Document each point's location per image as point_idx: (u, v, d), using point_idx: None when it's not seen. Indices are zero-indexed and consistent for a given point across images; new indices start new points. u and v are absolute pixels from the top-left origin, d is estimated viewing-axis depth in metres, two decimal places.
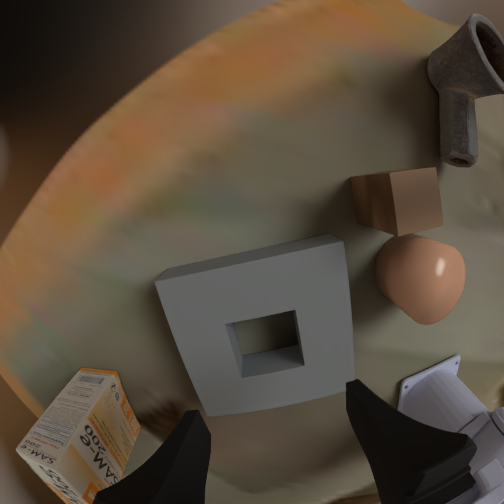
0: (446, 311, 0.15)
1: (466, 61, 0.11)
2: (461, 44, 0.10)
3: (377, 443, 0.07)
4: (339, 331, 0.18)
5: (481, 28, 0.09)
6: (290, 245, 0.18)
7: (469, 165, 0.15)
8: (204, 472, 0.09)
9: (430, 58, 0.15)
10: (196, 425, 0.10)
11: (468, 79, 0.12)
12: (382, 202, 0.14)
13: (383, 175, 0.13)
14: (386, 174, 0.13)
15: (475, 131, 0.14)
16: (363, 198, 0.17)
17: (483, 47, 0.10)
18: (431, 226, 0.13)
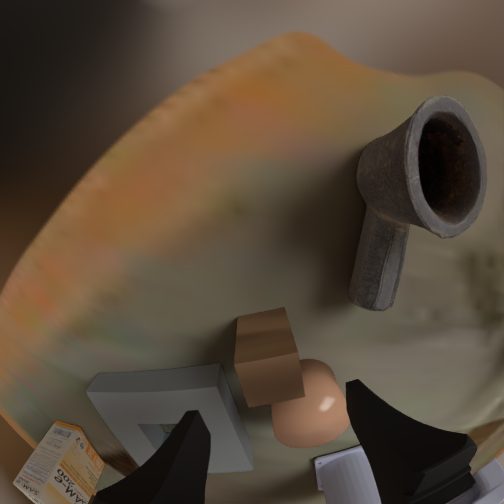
0: (327, 439, 0.17)
1: (393, 191, 0.12)
2: (391, 162, 0.11)
3: (377, 443, 0.07)
4: (227, 439, 0.19)
5: (439, 119, 0.10)
6: (181, 375, 0.19)
7: None
8: (204, 472, 0.09)
9: (361, 158, 0.16)
10: (196, 425, 0.10)
11: (396, 211, 0.13)
12: None
13: None
14: (234, 361, 0.14)
15: (395, 275, 0.15)
16: None
17: (441, 142, 0.11)
18: (289, 399, 0.14)
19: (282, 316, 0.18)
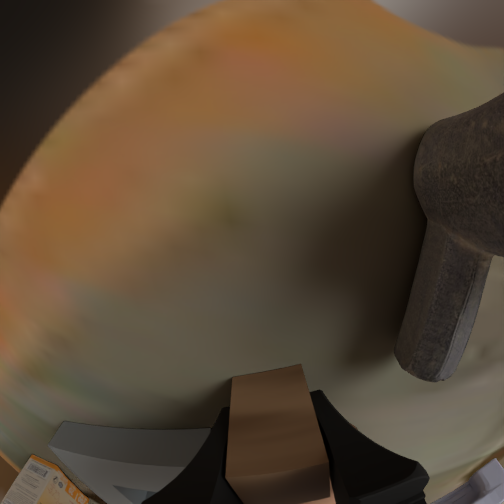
0: None
1: None
2: None
3: (330, 458, 0.07)
4: None
5: None
6: (158, 441, 0.12)
7: None
8: None
9: (423, 147, 0.09)
10: None
11: (494, 239, 0.06)
12: None
13: (227, 463, 0.07)
14: (226, 470, 0.07)
15: (469, 331, 0.08)
16: None
17: None
18: (307, 501, 0.07)
19: (299, 383, 0.11)
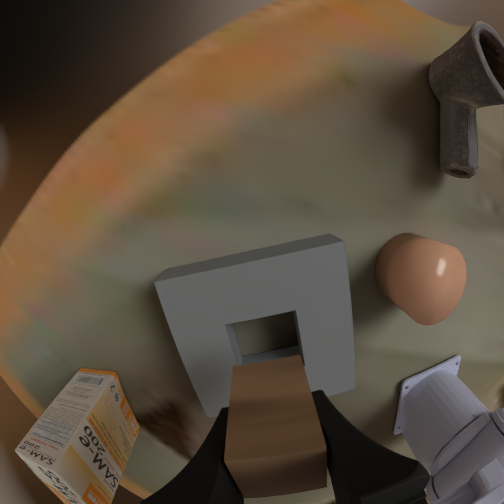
0: (447, 311, 0.15)
1: (468, 71, 0.11)
2: (464, 53, 0.10)
3: (331, 458, 0.07)
4: (340, 332, 0.17)
5: (484, 36, 0.09)
6: (290, 245, 0.18)
7: (469, 176, 0.15)
8: None
9: (432, 66, 0.15)
10: None
11: (470, 89, 0.12)
12: None
13: (225, 447, 0.08)
14: (225, 454, 0.07)
15: (476, 142, 0.14)
16: None
17: (486, 55, 0.10)
18: (303, 490, 0.08)
19: (298, 372, 0.11)
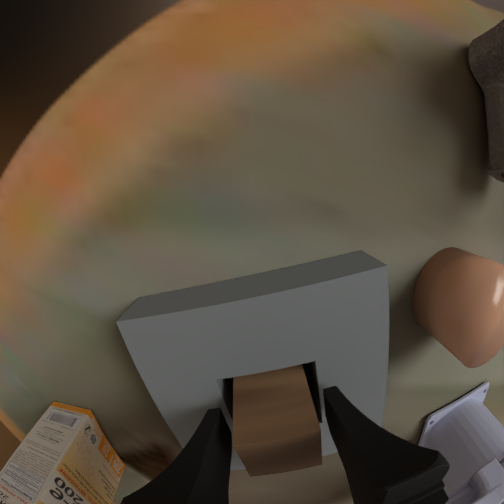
0: (497, 348, 0.10)
1: None
2: None
3: (349, 452, 0.07)
4: (370, 382, 0.12)
5: None
6: (309, 269, 0.13)
7: None
8: (227, 471, 0.09)
9: (472, 47, 0.09)
10: (219, 423, 0.10)
11: None
12: None
13: (233, 433, 0.09)
14: (233, 439, 0.09)
15: None
16: None
17: None
18: (302, 468, 0.10)
19: None
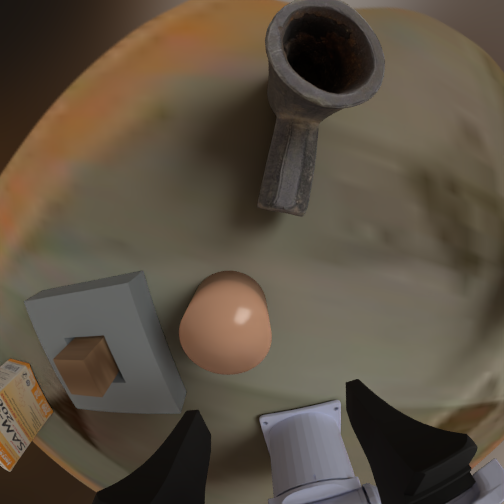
0: (247, 365, 0.16)
1: (272, 77, 0.12)
2: None
3: (377, 443, 0.07)
4: (144, 360, 0.18)
5: (318, 16, 0.10)
6: (104, 281, 0.19)
7: (298, 215, 0.17)
8: (204, 472, 0.09)
9: None
10: (196, 425, 0.10)
11: (283, 100, 0.13)
12: None
13: None
14: (55, 357, 0.16)
15: (298, 171, 0.15)
16: None
17: (334, 42, 0.11)
18: (93, 395, 0.16)
19: None
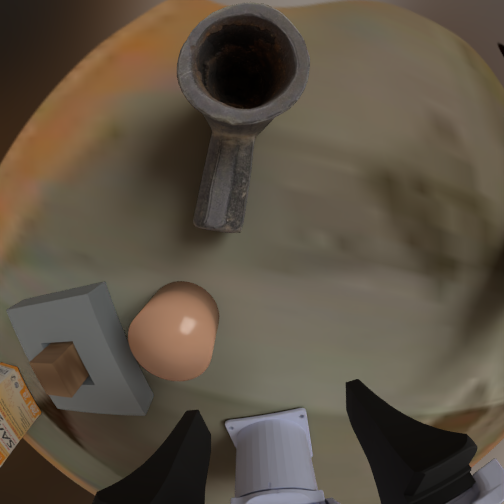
0: (192, 373, 0.17)
1: None
2: None
3: (377, 443, 0.07)
4: (108, 365, 0.19)
5: (239, 25, 0.10)
6: (72, 291, 0.19)
7: (234, 232, 0.17)
8: (204, 472, 0.09)
9: None
10: (196, 425, 0.10)
11: (207, 119, 0.13)
12: None
13: (34, 359, 0.16)
14: (31, 361, 0.16)
15: (227, 189, 0.15)
16: None
17: (263, 49, 0.12)
18: (64, 396, 0.16)
19: None
